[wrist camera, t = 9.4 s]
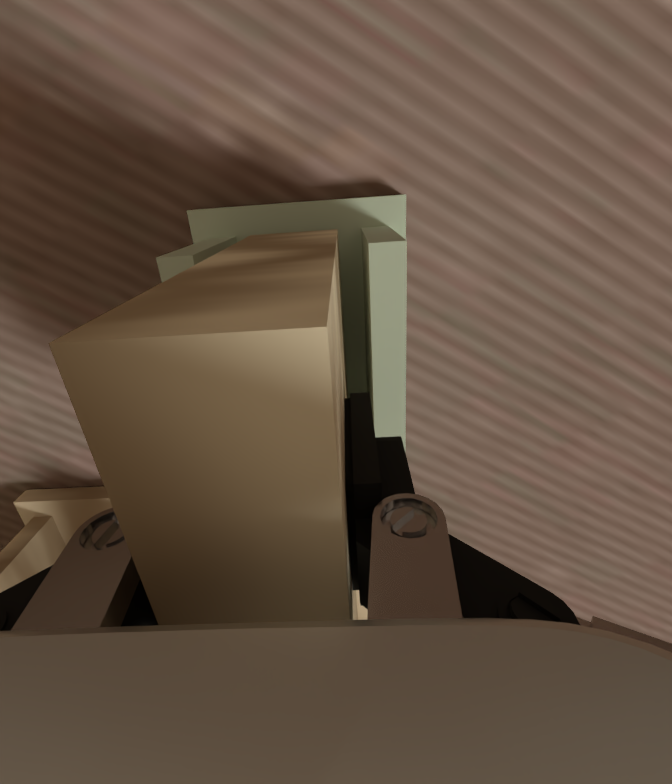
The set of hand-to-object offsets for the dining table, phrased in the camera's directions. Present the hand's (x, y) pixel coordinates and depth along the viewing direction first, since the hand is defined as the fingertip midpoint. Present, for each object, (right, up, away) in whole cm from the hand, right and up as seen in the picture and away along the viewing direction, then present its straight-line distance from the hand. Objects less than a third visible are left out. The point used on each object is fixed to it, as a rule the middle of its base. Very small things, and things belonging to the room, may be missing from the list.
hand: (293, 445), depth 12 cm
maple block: (0, +2, +5) cm, 6 cm away
